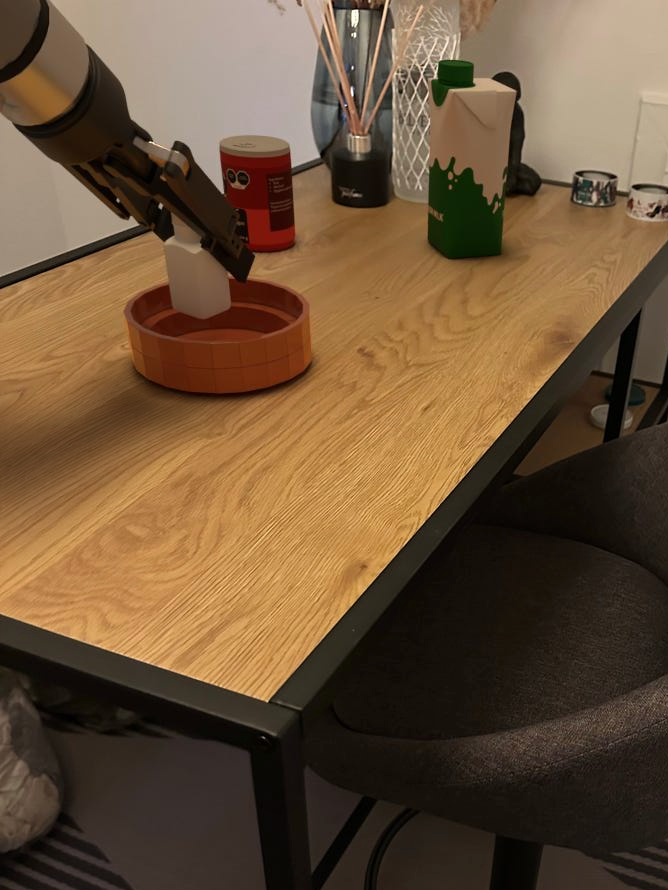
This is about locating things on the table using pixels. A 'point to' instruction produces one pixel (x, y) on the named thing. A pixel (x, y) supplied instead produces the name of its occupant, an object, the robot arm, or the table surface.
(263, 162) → the canned food
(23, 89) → the robot arm
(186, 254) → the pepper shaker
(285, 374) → the bowl
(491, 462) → the table surface
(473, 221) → the milk carton
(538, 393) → the table surface
